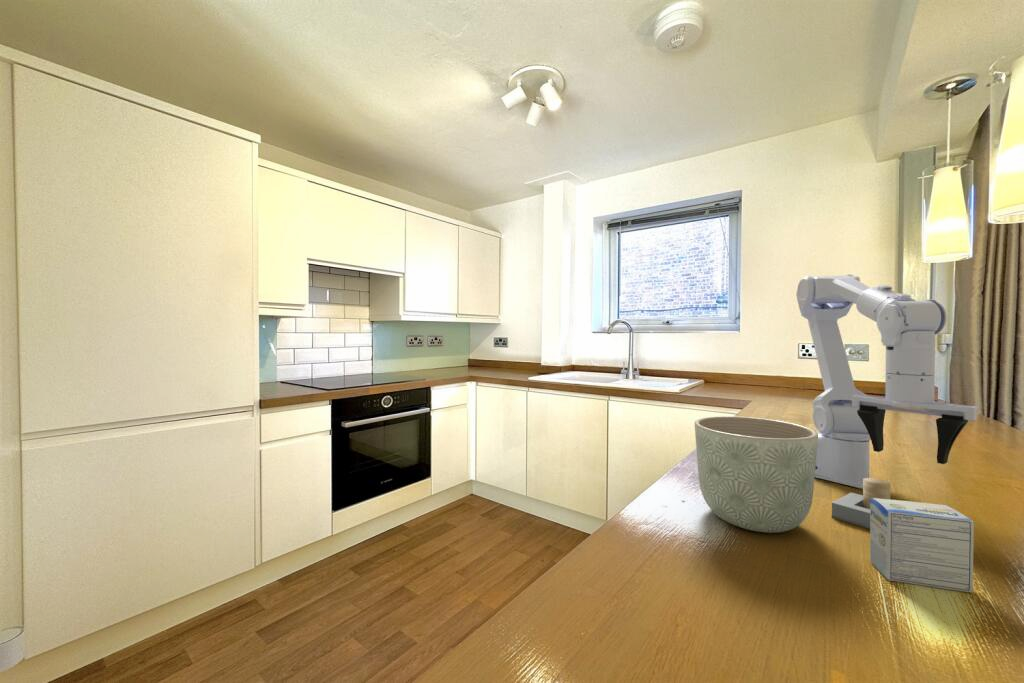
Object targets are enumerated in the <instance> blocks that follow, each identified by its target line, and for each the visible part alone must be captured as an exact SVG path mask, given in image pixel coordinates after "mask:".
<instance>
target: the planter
mask: <svg viewBox="0 0 1024 683" xmlns="http://www.w3.org/2000/svg"><path fill="white" fill-rule="evenodd" d="M818 433H819V432H817V431H816V430H814V429H812V428H811V427H807V426H805V425H801V424H797V423H793V422H787V421H782V420H777V419H769V418H763V417H762V418H761V417H760V418H759V417H752V416H735V415H733V416H732V415H731V416H730V415H726V416H724V415H722V416H721V415H720V416H719V415H717V416H709V417H708V416H706V417H701V418H698V419H696V420H695V421H694V434H695V436H694V437H695V448H696V461H697V463H696V464H697V474H698V483H699V488H700V491H701V494H702V497H703V499H704V501H705V504H706V505H707V506H708V507H709V509H710V510H711V511H712V512H713V513H714V514H715V516H717V517H719V518H720V519H721V520H723V521H725V522H727V523H729V524H731V525H733V526H736V527H739V528H741V529H745V530H749V531H752V532H759V533H766V534H767V533H768V534H773V533H774V534H775V533H776V534H778V533H784V532H788V531H791V530H793V529H795V528H797V527H798V526H800V525H801V524H802V523H803V522H804V521H805V519H806V518H807V517H808V515H809V513H810V510H811V509H812V504H813V497H814V489H815V488H814V487H815V479H816V477H815V468H816V457H817V446H818Z"/></svg>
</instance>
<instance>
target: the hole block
mask: <svg viewBox="0 0 1024 683" xmlns="http://www.w3.org/2000/svg"><path fill="white" fill-rule="evenodd" d="M833 517H834V519H835V520H836V519H837V520H840V521H843V522H847V523H850V524H853V525H856V526H860V527H863V528H866V529H869V530H870V509H867V508H863V494H858V493H855V492H849V493H848V494H846V495H844V496H841V497H840V498H838V499H836V500H834V501H831V518H833Z"/></svg>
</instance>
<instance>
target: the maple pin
mask: <svg viewBox="0 0 1024 683" xmlns="http://www.w3.org/2000/svg"><path fill="white" fill-rule="evenodd" d="M873 478H874V477H870V478H864V479H863V489H862V491H863V492H862V495H863V508H867V509H870V500H871V499H872V498H878V499H890V500H891V483H890V482H888V481H887V480H886V481H885V480H883V479H878V478H874V479H873Z"/></svg>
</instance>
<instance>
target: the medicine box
mask: <svg viewBox="0 0 1024 683" xmlns="http://www.w3.org/2000/svg"><path fill="white" fill-rule="evenodd" d="M974 526H975V522H974V521H973V520H972V519H970V518H969V517H968V516H966V515H965V514H963V513H961V512H960V511H958V510H956V509H954V508H952V507H950V506H949V505H945V504H938V503H928V502H919V501H909V500H898V499H891V498H890V499H878V498H872V499H871V500H870V529H869V531H870V532H869V533H870V540H869V542H870V544H869V545H870V546H869V547H870V552H869V553H870V555H869V556H870V558H869V559H870V561H871V563H872V565H873V566H874V567H875V569H877V571H879V572H880V573H881V575H882V576H883V577H884V578H885V579H886V580H887V581H891V582H898V583H905V584H911V585H918V586H924V587H925V586H926V587H932V588H939V589H945V590H951V591H960V592H963V593H964V592H966V593H974V536H975V535H974V528H975V527H974Z"/></svg>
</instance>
